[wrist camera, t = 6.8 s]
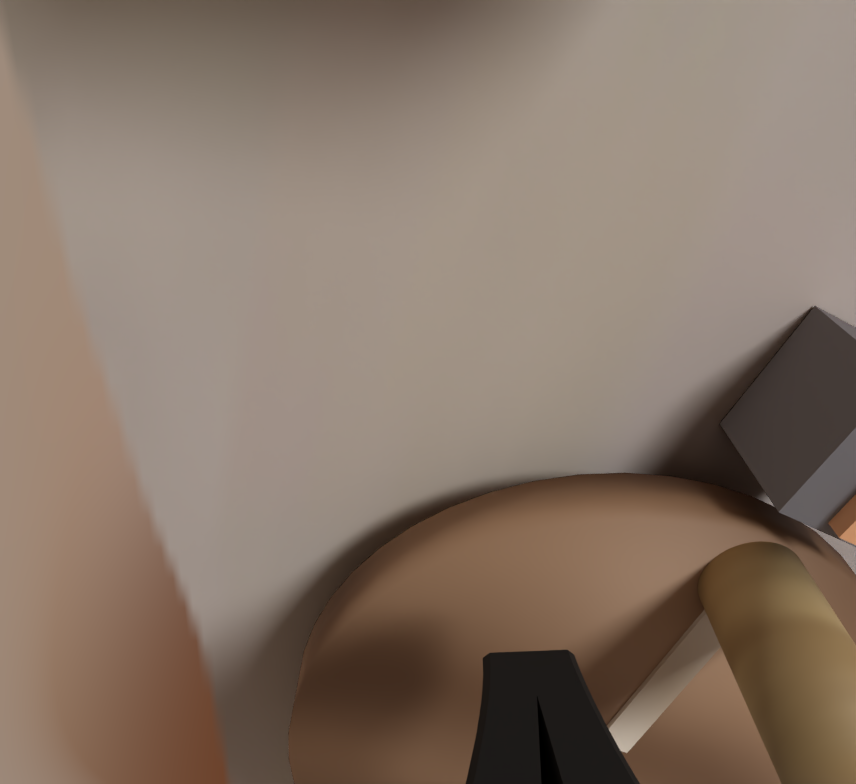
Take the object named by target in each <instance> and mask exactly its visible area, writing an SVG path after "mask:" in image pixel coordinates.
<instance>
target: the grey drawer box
mask: <svg viewBox="0 0 856 784" xmlns="http://www.w3.org/2000/svg"><path fill="white" fill-rule="evenodd" d="M720 425H721V426H722V428H723V429H724V431H725V432H726V434H727V435H728V437H729V438H730V440H731V441H732V443H733V444H734V446H735V447H736V449H737V450H738V452H739V453H740V455H741V456H742V458H743V459H744V461H745V462H746V464H747V465H748V467H749V468H750V470H751V471H752V473H753V474H754V476H755V477H756V479H757V480H758V482H759V483H760V485H761V486H762V488H763V489H764V491H765V492H766V494H767V496H768V497H769V499H770V500H771V502H772V503H773V505H774V506H775V508H776V509H777V511H778V512H779V513H782V514H784V515H786V516H788V517H791V518H793V519H795V520H797V521H799V522H802V523H804V524H806V525H808V526H811V527H813V528H815V529H817V530H819V531H822V532H824V533H826V534H828V535H831V536H833V537H835V538H837V539H839V540H842V541H844V542H846V543H848V544H851V545H853V546H855V547H856V327H854V326H852V325H850V324H848V323H846V322H844V321H842V320H841V319H839V318H837V317H835V316H833V315H831V314H829V313H827V312H826V311H824V310H822V309H820V308H818V307H816V306H814V308H813V309H812V310H811V311H810V313H809V314H808V315H807V316H806V318H805V319H804V320H803V321H802V323H801V324H800V325H799V326H798V327H797V329H796V330H795V331H794V332H793V334H792V335H791V336H790V337H789V339H788V340H787V341H786V342H785V344H784V345H783V346H782V347H781V349H780V350H779V351H778V352H777V353H776V355H775V356H774V357H773V358H772V360H771V361H770V362H769V363H768V365H767V366H766V367H765V368H764V370H763V371H762V372H761V373H760V375H759V376H758V377H757V378H756V379H755V381H754V382H753V383H752V384H751V386H750V387H749V388H748V389H747V391H746V392H745V393H744V394H743V396H742V397H741V398H740V399H739V401H738V402H737V403H736V404H735V405H734V407H733V408H732V409H731V410H730V412H729V413H728V414H727V415H726V417H725V418H724V419H723V420H722V422H721V423H720Z"/></svg>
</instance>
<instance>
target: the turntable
mask: <svg viewBox="0 0 856 784" xmlns="http://www.w3.org/2000/svg"><path fill="white" fill-rule="evenodd" d="M545 650H569V651H570V652H571V653H573V654H574V655H575V658H576V661H577V663H578V666H579V668H580V671H581V673H582V675H583V678H584V680H585V682H586V685H587V687H588V689H589V691H590V693H591V695H592V697H593V699H594V701H595V704H596V706H597V708H598V710H599V711H600V713H601V715H602V717H603V719H604V721H605V723H606V725H607V727H608V729H609V731H610V733H611V734H612V736H613V738H614V740H615V742H616V744H617V745H618V747H619V749H620V751H621V752H622V754H623V756H624V757H625V759H626V761H627V763H628V764H629V766H630V768H631V769H632V771H633V773H634V775H635V776H636V778H637V780H638V781H639V783H640V784H856V575H855V573H854V572H853V571H852V569H851V568H850V567H849V565H848V564H847V563H846V561H845V560H844V559H843V557H842V556H841V555H840V554H839V553H838V552H837V551H836V550H835V549H834V548H833V547H832V546H831V545H829V544H828V543H827V542H826V541H825V540H824V539H823V538H822V537H821V536H820V535H819V534H818V533H816V532H815V531H814V530H812V529H811V528H809V527H807V526H806V525H804V524H803V523H801V522H799V521H797V520H795V519H793V518H791V517H788V516H786V515H784V514H782V513H779V512H778V511H777V509H776V508H775V507H773V506H771V505H769V504H767V503H765V502H763V501H760V500H758V499H756V498H754V497H752V496H749V495H746V494H743V493H740V492H736V491H733V490H730V489H727V488H724V487H720V486H717V485H714V484H710V483H705V482H699V481H694V480H688V479H683V478H677V477H672V476H662V475H648V474H633V473H609V474H583V475H573V476H566V477H559V478H552V479H546V480H539V481H532V482H529V483H525V484H521V485H517V486H513V487H509V488H505V489H501V490H497V491H493V492H490V493H487V494H484V495H482V496H479V497H476V498H474V499H471V500H468V501H466V502H463V503H460V504H458V505H455V506H452V507H450V508H447V509H445V510H443V511H441V512H440V513H438V514H436V515H434V516H432V517H430V518H428V519H426V520H424V521H422V522H420V523H418V524H416V525H414V526H412V527H411V528H409V529H408V530H406V531H405V532H403V533H402V534H400V535H399V536H397V537H396V538H394V539H393V540H391V541H390V542H388V543H387V544H385V545H384V546H382V547H381V548H379V549H378V550H377V551H376V552H375V553H374V554H373V555H371V556H370V557H369V558H368V559H367V560H366V561H365V562H363V563H362V564H361V565H360V566H359V567H358V568H357V569H356V570H354V571H353V572H352V573H351V574H350V576H349V577H348V578H347V579H346V580H345V582H344V583H343V584H342V585H341V586H340V587H339V589H338V590H337V591H336V592H335V593H334V594H333V596H332V597H331V598H330V600H329V601H328V603H327V605H326V606H325V608H324V609H323V611H322V613H321V614H320V616H319V618H318V619H317V621H316V623H315V624H314V627H313V629H312V632H311V634H310V637H309V639H308V642H307V645H306V647H305V650H304V653H303V659H302V664H301V669H300V674H299V680H298V685H297V690H296V696H295V701H294V706H293V712H292V717H291V722H290V728H289V733H288V734H289V762H290V767H291V771H292V776H293V780H294V784H466V780H467V775H468V771H469V766H470V761H471V757H472V752H473V747H474V743H475V738H476V733H477V726H478V720H479V714H480V707H481V698H482V686H483V657H485V656H486V655H487V654H489V653H494V652H519V651H545Z"/></svg>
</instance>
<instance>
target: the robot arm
mask: <svg viewBox="0 0 856 784" xmlns="http://www.w3.org/2000/svg"><path fill="white" fill-rule="evenodd" d="M466 784H640V783H639V781H638V780H637V778H636V776H635V775H634V773H633V771H632V769H631V768H630V766H629V764H628V763H627V761H626V759H625V757H624V756H623V754H622V752H621V751H620V749H619V747H618V745H617V744H616V742H615V740H614V738H613V736H612V734H611V733H610V731H609V729H608V727H607V725H606V723H605V721H604V719H603V717H602V715H601V713H600V711H599V710H598V708H597V706H596V704H595V701H594V699H593V697H592V695H591V693H590V691H589V689H588V687H587V685H586V682H585V680H584V678H583V675H582V673H581V671H580V668H579V666H578V663H577V661H576V658H575V655H574V654H573V653H571V652H570V651H569V650H545V651H519V652H494V653H489V654H487V655H486V656H485V657H483V686H482V698H481V707H480V714H479V720H478V726H477V733H476V738H475V743H474V747H473V752H472V757H471V761H470V766H469V771H468V775H467V780H466Z"/></svg>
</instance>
